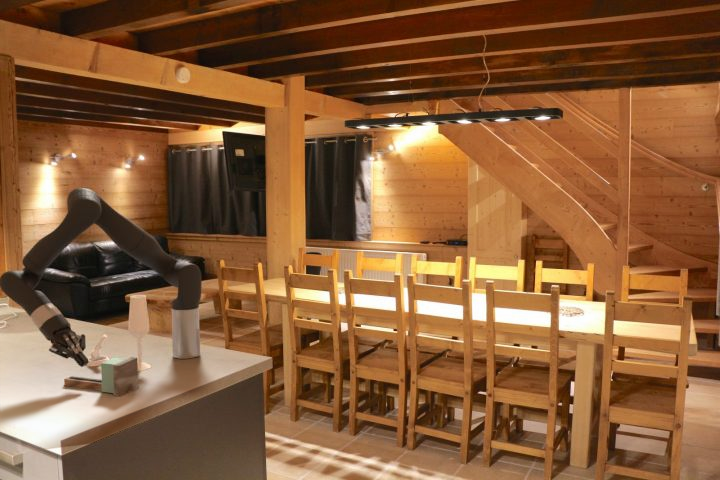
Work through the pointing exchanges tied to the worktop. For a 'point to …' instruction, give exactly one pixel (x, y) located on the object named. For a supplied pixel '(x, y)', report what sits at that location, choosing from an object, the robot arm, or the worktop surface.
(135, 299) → the champagne flute
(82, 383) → the rail
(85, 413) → the worktop surface
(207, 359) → the worktop surface
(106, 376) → the block
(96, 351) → the white vr controller
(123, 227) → the robot arm
